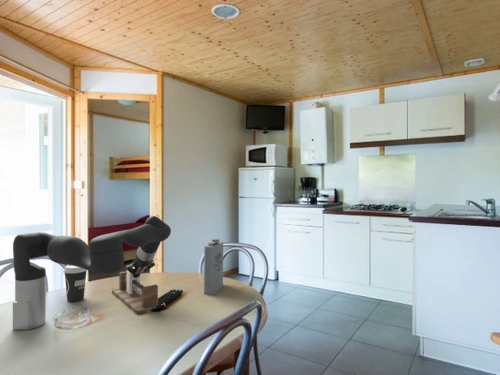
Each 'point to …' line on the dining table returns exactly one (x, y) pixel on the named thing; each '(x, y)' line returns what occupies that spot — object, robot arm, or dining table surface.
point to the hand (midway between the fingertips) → (135, 276)
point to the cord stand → (137, 295)
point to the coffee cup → (75, 283)
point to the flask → (213, 266)
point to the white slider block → (129, 283)
